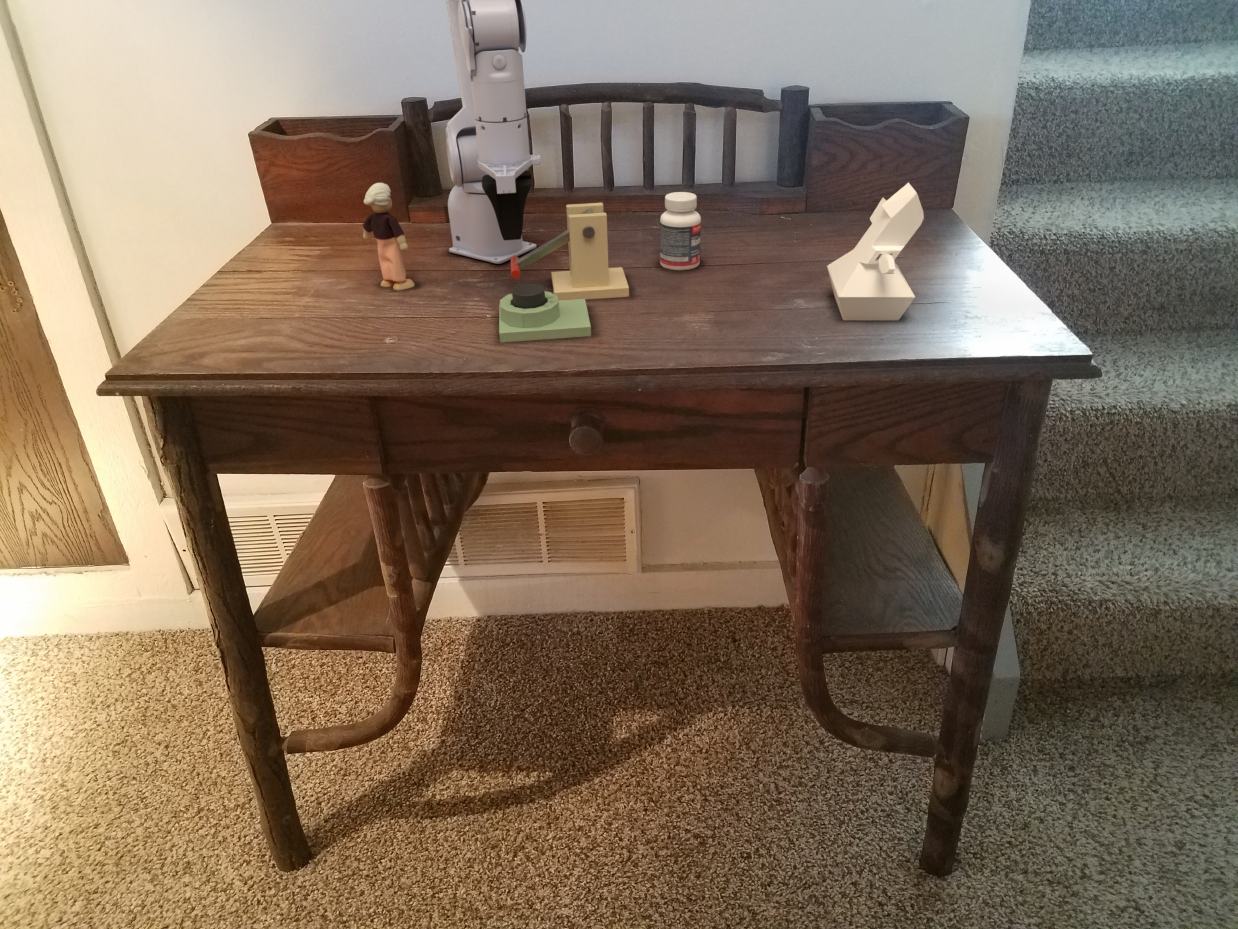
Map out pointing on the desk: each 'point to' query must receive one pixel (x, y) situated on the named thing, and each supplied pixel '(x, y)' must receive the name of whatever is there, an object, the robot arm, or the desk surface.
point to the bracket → (588, 258)
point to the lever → (540, 251)
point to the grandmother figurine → (386, 237)
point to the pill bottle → (680, 232)
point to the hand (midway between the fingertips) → (512, 238)
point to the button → (528, 296)
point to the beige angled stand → (878, 262)
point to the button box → (543, 320)
